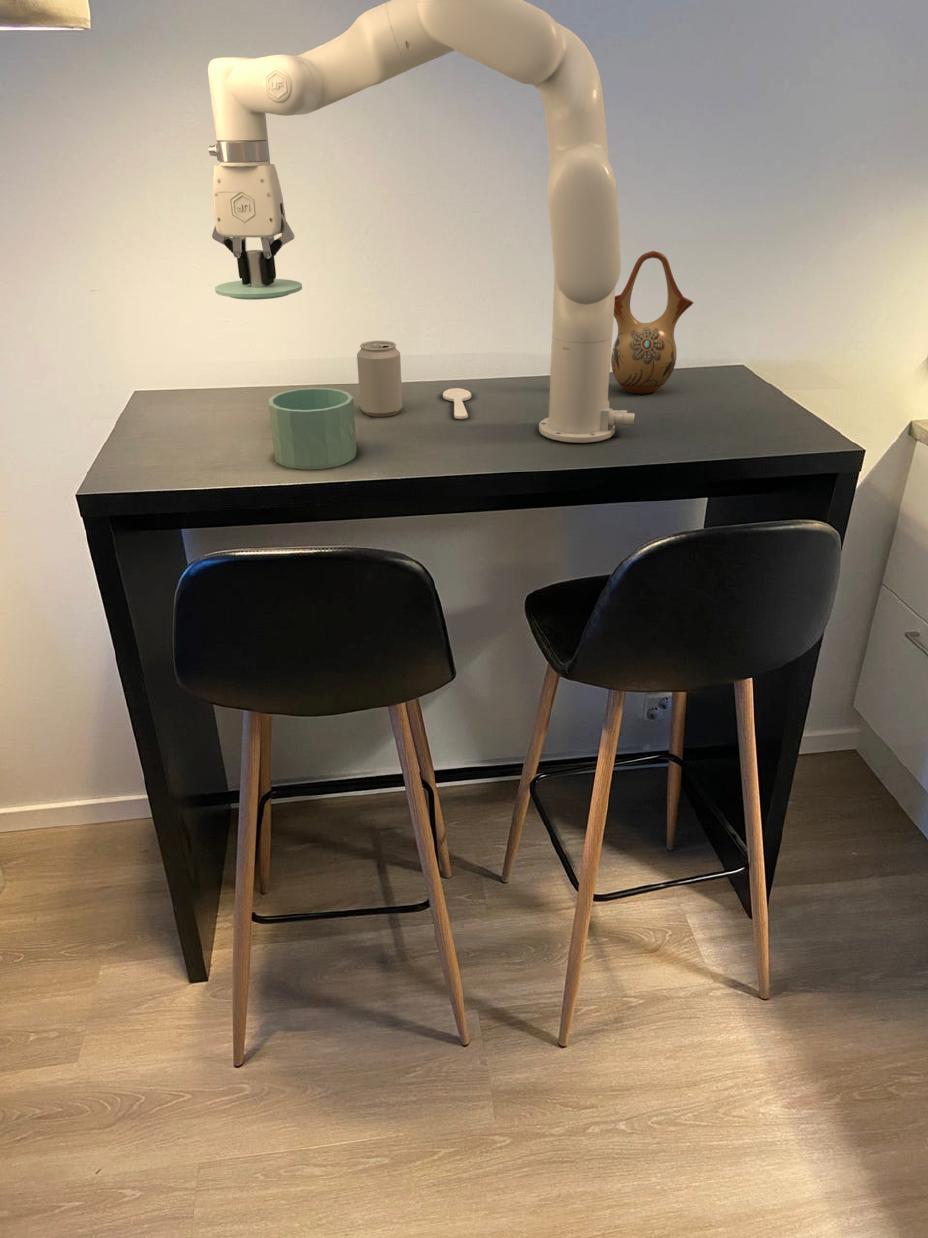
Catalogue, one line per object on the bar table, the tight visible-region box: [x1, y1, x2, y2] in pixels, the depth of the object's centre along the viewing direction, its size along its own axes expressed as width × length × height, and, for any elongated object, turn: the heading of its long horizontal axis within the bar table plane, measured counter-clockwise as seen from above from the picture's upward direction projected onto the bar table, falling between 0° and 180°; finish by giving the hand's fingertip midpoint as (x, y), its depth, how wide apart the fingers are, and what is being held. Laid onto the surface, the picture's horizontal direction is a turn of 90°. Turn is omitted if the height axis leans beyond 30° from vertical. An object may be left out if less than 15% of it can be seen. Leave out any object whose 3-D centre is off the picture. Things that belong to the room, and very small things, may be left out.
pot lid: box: [214, 249, 303, 301], centre depth 144 cm, size 14×14×6 cm
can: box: [356, 340, 403, 418], centre depth 160 cm, size 8×8×12 cm
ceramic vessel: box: [610, 250, 694, 395], centre depth 167 cm, size 16×9×25 cm, turn 93°
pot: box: [267, 387, 358, 471], centre depth 141 cm, size 13×13×9 cm
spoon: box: [442, 387, 472, 420], centre depth 166 cm, size 5×18×1 cm, turn 3°
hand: (258, 282), depth 145 cm, fingers closed on pot lid, 2 cm apart
